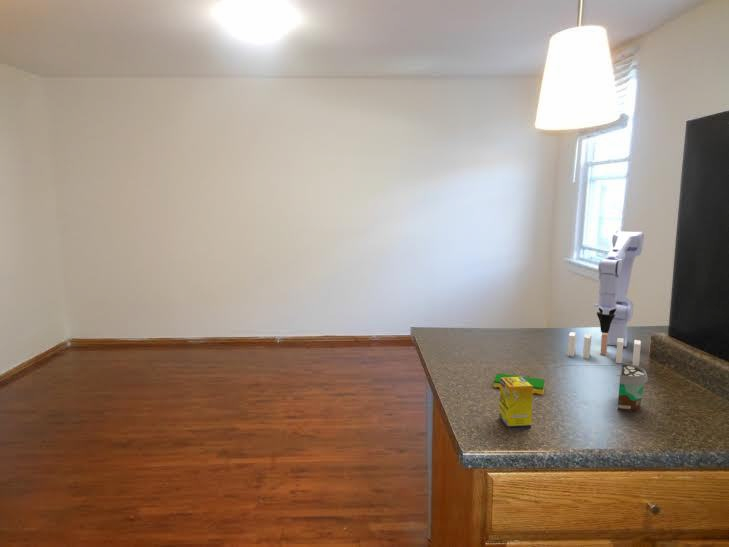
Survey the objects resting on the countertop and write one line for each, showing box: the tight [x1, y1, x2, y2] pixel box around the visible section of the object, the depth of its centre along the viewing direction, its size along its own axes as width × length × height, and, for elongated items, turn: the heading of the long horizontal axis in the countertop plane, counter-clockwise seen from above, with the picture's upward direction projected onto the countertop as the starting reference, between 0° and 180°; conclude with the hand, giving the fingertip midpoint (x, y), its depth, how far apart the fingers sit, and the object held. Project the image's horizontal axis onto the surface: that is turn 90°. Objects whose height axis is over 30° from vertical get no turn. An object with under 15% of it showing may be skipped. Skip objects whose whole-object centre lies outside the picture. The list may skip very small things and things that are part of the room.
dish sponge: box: [493, 372, 546, 395], centre depth 134 cm, size 7×14×2 cm, turn 66°
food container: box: [617, 361, 648, 412], centre depth 120 cm, size 12×6×10 cm, turn 148°
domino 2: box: [582, 333, 592, 360], centre depth 159 cm, size 2×5×8 cm, turn 149°
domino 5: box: [632, 339, 642, 367], centre depth 152 cm, size 2×5×8 cm, turn 149°
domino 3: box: [600, 332, 608, 356], centre depth 163 cm, size 2×5×8 cm, turn 149°
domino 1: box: [567, 331, 577, 357], centre depth 162 cm, size 2×5×8 cm, turn 149°
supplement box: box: [498, 376, 534, 430], centre depth 111 cm, size 6×6×11 cm
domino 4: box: [615, 338, 624, 364], centre depth 154 cm, size 2×5×8 cm, turn 149°
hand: (605, 330), depth 162 cm, fingers open, 7 cm apart
